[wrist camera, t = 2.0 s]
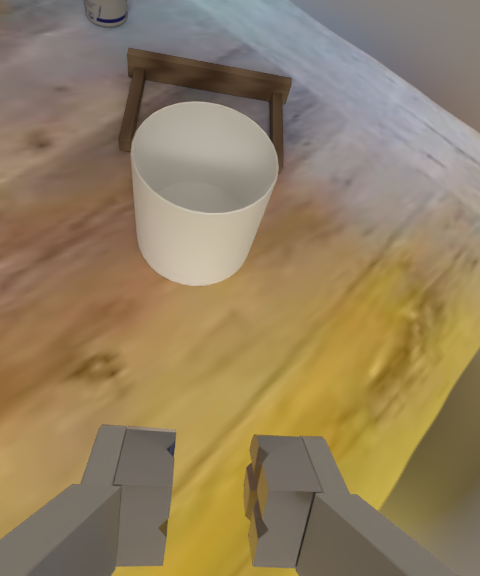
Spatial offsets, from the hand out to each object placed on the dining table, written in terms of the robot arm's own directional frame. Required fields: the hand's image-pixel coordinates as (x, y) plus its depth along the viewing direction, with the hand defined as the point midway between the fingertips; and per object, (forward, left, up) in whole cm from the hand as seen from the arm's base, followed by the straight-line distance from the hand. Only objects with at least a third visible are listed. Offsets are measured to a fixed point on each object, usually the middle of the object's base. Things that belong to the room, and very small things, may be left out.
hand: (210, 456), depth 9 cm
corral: (-7, +39, -27) cm, 48 cm away
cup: (-4, +23, -28) cm, 36 cm away
